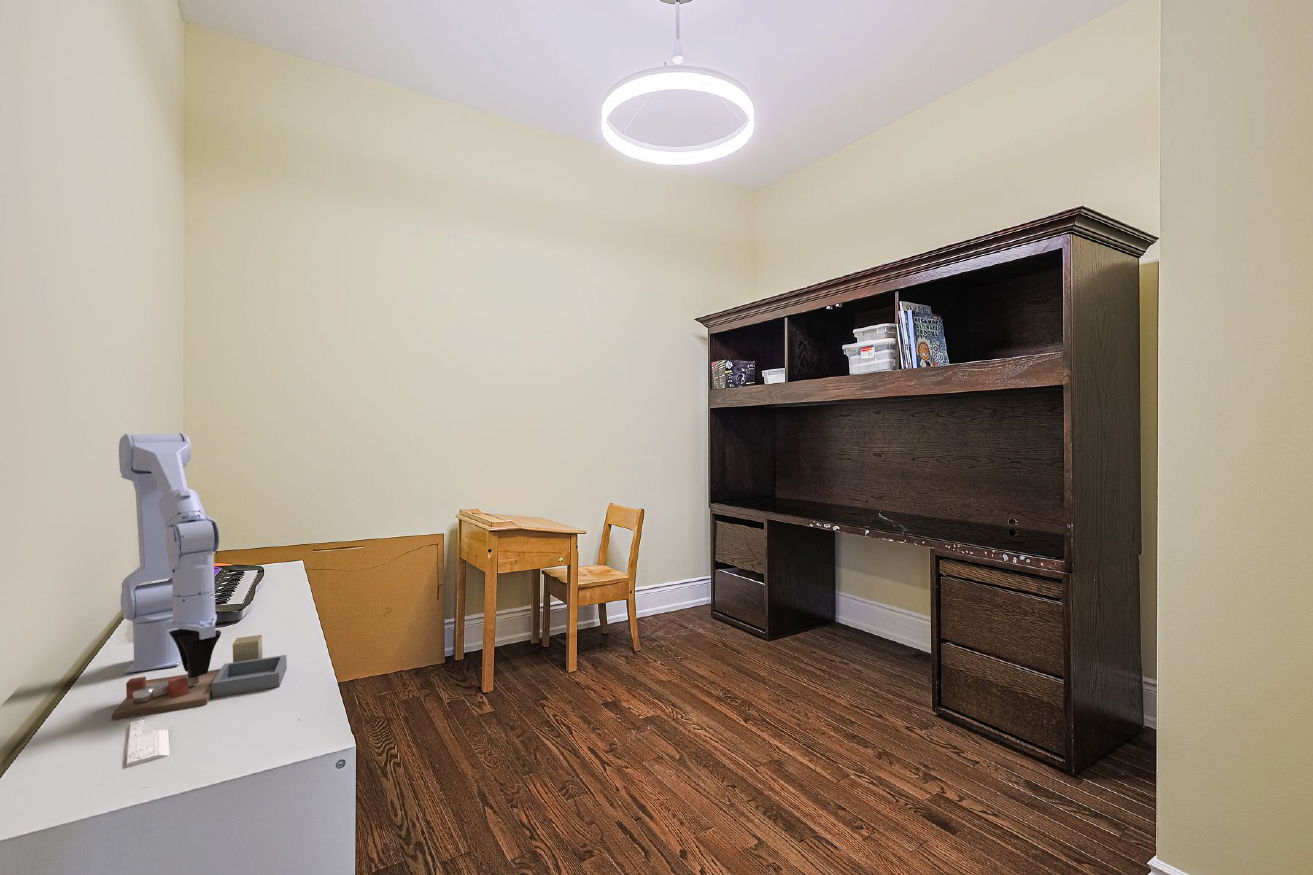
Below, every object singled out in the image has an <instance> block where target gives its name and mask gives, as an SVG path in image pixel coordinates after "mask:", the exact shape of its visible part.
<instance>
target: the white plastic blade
mask: <svg viewBox="0 0 1313 875" xmlns="http://www.w3.org/2000/svg"><path fill="white" fill-rule="evenodd" d="M144 725H145V719H141V720H137V721H133V722H130V723H129V733H128V740H127V747H126V750H127V751H125V752H126V753H125V756H126V768H129V767H133V766H137V765H139V764H144V763H147V762H148V763H149V762H151V761H155V760H158V759H163V758H165V757H170V741H169V740H170V738H169V729H159V730H157V729H153V730H151V732H150V733H148V734H143V731H142V729H143V728H144Z"/></svg>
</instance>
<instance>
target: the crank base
mask: <svg viewBox="0 0 1313 875" xmlns="http://www.w3.org/2000/svg"><path fill="white" fill-rule="evenodd" d="M220 670H221V668H220V669H214V670H213V669H212V670H208V672H207V674H203V675H200V676H199V683H198V684H195V685H191V686H188V678H186V677H187V676H188V673H187V674H186V673H185V674H181V675H180V674H179V675H174V676H173V675H172V676H165V677H159V678H152V679H147V677H146V676H139V677H133V678H132V677H131V678H130V679H129V680H128V681H127V682H125V683H126V684H125V688H126V690H125V692H126V698H125V699H124V700H123V701H122V702H121V703H120V704H119V705H118V706H117V708H116V709H115V710H114V711H113V712H112V713H111V721H115V720H122V719H127V718H133V717H140V716H145V715H151V714H158V713H163V712H169V711H170V712H171V711H174V710H175V711H176V710H182V709H187V708H194V707H199V706H206V705H207V704H208V702H209V701H210V699H212V682H213V681H214V679H215V677H216V676H217V674H218V673H219V671H220ZM167 682H168V689H169V693H165V694H162V695H159V696H156V697H154V698H153V699H152V700H150V701H147V702H143V703H133V691H134V690H136V689H139V688H143V687H149V686H152V687H153V686H157V685H160V684H164V683H167Z"/></svg>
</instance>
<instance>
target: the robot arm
mask: <svg viewBox="0 0 1313 875" xmlns="http://www.w3.org/2000/svg"><path fill="white" fill-rule="evenodd" d="M191 453H192V446H191V440H190V438H189V436H188V435H187V434H186V433H184V432H179V433H161V434H160V433H156V434H155V433H152V434H151V433H150V434H147V433H146V434H145V433H143V434H137V433H136V434H131V433H125V434H123V435H122V436H121V437H120V439H119V443H118V462H119V463H118V464H119V472H120V474H121V478H122V479H124V480H128V481H131V482H132V485H133V487H134V492H135V502H136V503H135V504H136V520H137V521H136V522H137V536H138V537H137V538H138V555H139V567H138V568H137V569H135V570H134V571H132V572H131V573H130V574H129V575H127V576H126V577H125V578H124V579H123V580H122V582H121V593H120V610H121V614H122V616H123V619H125V620H126V621H128V622H129V621H131V622H132V638H133V639H132V642H133V644H132V645H133V646H132V647H133V663H132V664H131V665H130V666H129V667H127V669H125V670H124V671H125V674H129V673H135V672H136V673H137V672H143V671H149V670H150V671H151V670H156V669H157V670H158V669H164V668H165V669H166V668H171V667H177V666H179V665H180V664H181V663H182V667H183V669H184V671H185V672H186V673H188V668H187V661H188V666H189V671H190V674H191V676H192V677H196V676H200V675H203V674H207V672H208V671H209V668H210V664H211V660H212V656H213V653H214V649H215V647H216V644H217V643H218V641H219V639H220V637H221V635H222V631H220V630H219V629H216V622H217V620H218V614H217V613H216V598H215V597H216V594H215V593H216V591H215V590H216V589H215V559H214V557H215V556H214V555H215V554H214V553H216V552H218V549H219V548H220V532H219V531H220V530H219V528H218V527H219V526H218V524H217V523H218V522H217V521H216V520H215V519H214V518H212V517H211V515H209V514H206V512H205V510H204V506H203V504H202V502H201V498H200V496H199V494H198V492H197V491H195V490H194V489H191V488H188V482H187V478H186V474H185V470H184V469H185V468H186V467H187V466H188V463H189V462H190V459H191V456H192V454H191ZM167 579H168V580H167ZM169 579H170V580H169ZM161 580H164V581H161ZM149 582H150V583H149ZM143 583H145V584H143Z"/></svg>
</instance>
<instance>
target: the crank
mask: <svg viewBox="0 0 1313 875" xmlns="http://www.w3.org/2000/svg"><path fill="white" fill-rule="evenodd" d="M187 668H188V672H187V674H188V676H187V677H186V678H188V686H191V685H195V684H198V683H199V676H196V677H192V676H191V674H190V671H189V666H188V661H187ZM165 693H169V689H168V682H167V683H164V684H160V685H157V686H153V687H152V686H149V687H143V688H139V689H136V690H134V691H133V703H143V702H147V701H150V700H152V699H153V698H154V697H156V696H159V695H162V694H165Z"/></svg>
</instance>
